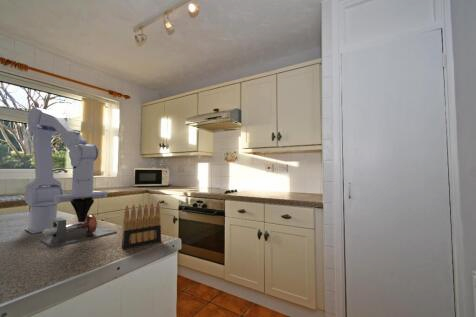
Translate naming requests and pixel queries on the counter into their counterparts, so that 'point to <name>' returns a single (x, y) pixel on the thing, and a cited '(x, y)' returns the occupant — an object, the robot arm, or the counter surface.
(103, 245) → the counter surface
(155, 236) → the ammunition clip
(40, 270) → the counter surface
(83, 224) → the hammer
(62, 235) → the eye bracket
